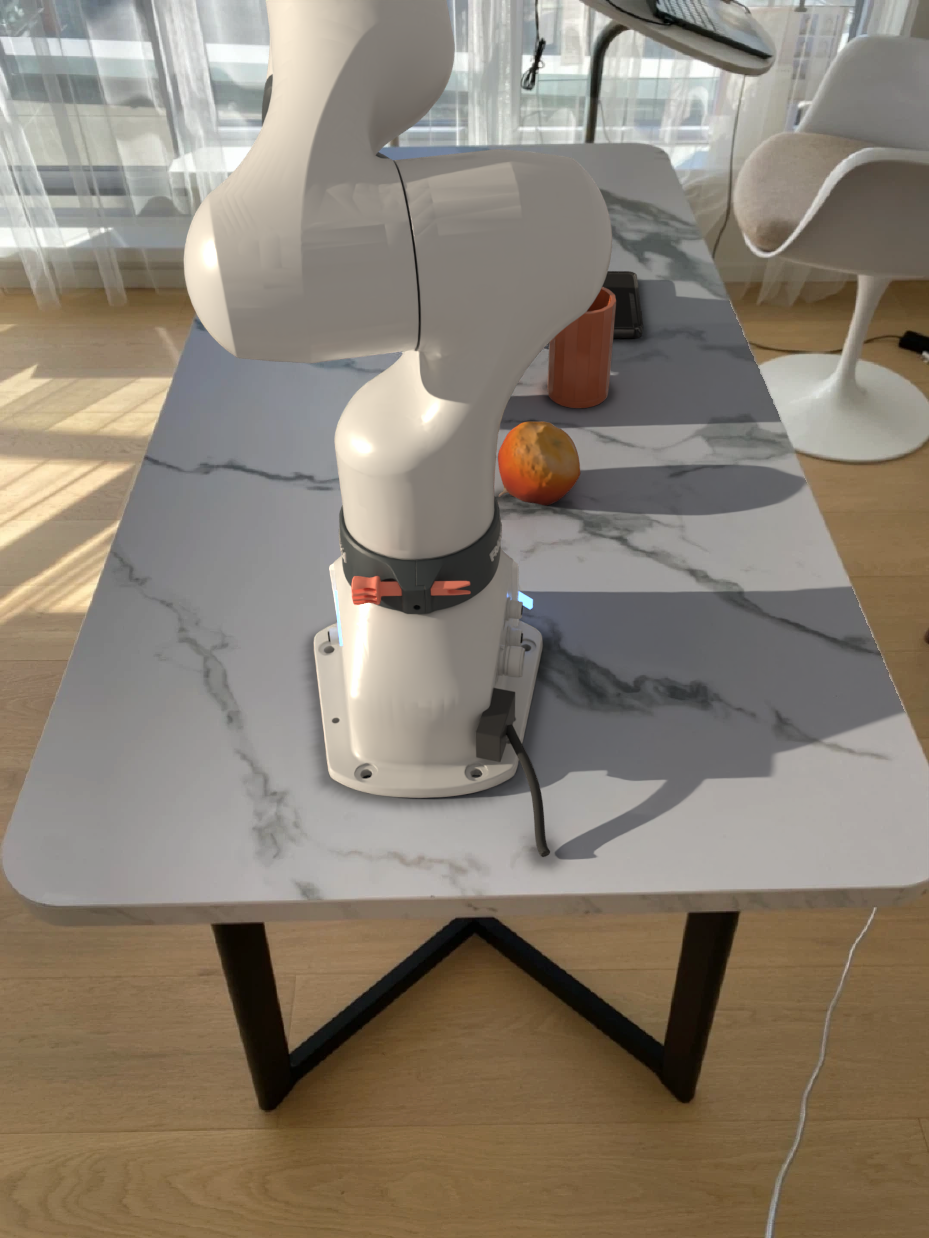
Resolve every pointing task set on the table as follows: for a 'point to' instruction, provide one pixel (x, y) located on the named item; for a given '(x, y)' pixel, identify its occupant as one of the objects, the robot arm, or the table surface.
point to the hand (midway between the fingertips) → (544, 317)
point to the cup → (583, 356)
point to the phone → (625, 303)
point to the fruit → (538, 463)
